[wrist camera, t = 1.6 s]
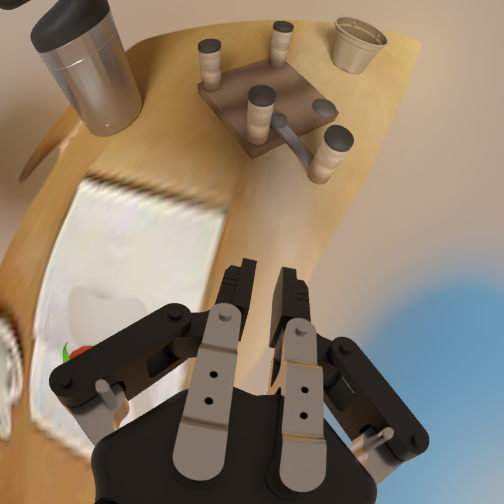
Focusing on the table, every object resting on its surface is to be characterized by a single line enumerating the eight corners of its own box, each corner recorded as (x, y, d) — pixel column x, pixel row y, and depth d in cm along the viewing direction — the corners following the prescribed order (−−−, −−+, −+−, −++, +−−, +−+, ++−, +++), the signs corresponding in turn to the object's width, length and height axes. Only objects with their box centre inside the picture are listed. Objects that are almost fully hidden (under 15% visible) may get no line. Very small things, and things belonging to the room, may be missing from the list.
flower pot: (340, 44, 39) (353, 12, 31) (379, 72, 38) (397, 41, 30) (312, 56, 38) (323, 19, 29) (355, 86, 37) (373, 50, 28)
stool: (198, 93, 34) (192, 43, 25) (278, 64, 37) (286, 19, 27) (252, 160, 32) (259, 109, 23) (336, 121, 35) (359, 75, 25)
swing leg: (263, 123, 31) (270, 79, 23) (281, 115, 31) (291, 72, 24) (316, 188, 29) (339, 153, 22) (333, 178, 30) (359, 142, 22)
